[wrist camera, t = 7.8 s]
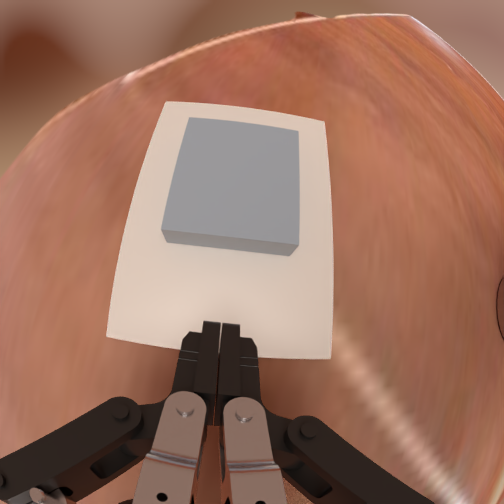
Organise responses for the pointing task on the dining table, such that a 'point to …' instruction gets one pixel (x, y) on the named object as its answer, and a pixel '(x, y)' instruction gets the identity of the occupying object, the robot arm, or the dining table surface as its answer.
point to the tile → (235, 188)
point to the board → (226, 255)
